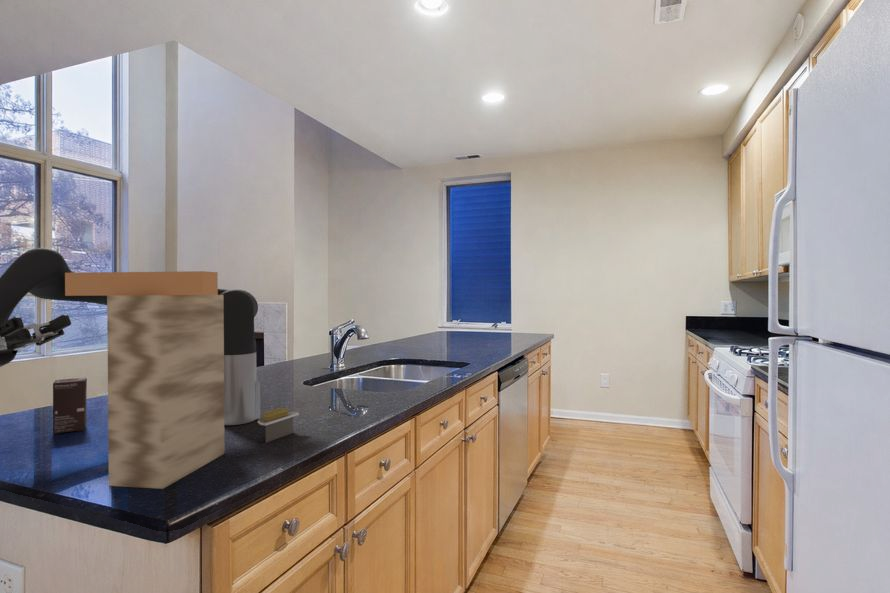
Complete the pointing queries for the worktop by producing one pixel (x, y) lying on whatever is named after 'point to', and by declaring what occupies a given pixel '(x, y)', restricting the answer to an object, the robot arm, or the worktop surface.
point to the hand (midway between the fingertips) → (45, 320)
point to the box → (69, 405)
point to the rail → (141, 283)
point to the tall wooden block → (164, 387)
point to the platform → (277, 423)
